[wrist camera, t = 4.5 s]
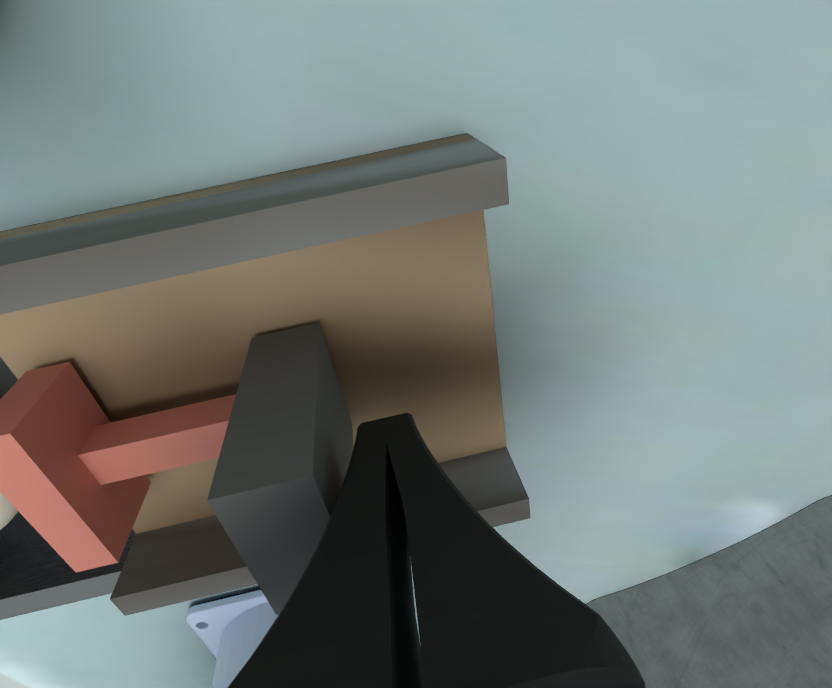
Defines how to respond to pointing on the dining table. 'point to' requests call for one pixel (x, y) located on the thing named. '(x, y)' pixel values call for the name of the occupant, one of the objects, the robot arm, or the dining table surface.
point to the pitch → (276, 323)
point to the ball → (6, 511)
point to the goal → (43, 562)
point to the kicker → (187, 459)
